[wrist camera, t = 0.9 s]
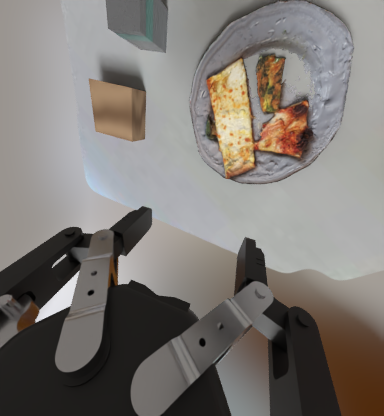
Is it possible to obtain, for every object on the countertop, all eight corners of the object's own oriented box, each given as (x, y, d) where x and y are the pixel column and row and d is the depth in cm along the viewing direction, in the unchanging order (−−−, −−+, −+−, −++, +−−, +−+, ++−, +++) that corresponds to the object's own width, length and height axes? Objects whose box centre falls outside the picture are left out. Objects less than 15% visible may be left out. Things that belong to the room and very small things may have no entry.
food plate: (328, 174, 29) (337, 180, 26) (207, 186, 38) (203, 191, 35) (358, -27, 19) (378, -55, 16) (183, 51, 28) (176, 43, 25)
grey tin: (140, 7, 26) (102, -31, 19) (168, 9, 25) (139, -30, 18) (140, 49, 29) (108, 28, 22) (165, 53, 28) (140, 32, 21)
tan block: (108, 83, 33) (88, 78, 29) (146, 91, 32) (131, 87, 28) (112, 129, 38) (95, 131, 34) (145, 138, 37) (132, 141, 32)
